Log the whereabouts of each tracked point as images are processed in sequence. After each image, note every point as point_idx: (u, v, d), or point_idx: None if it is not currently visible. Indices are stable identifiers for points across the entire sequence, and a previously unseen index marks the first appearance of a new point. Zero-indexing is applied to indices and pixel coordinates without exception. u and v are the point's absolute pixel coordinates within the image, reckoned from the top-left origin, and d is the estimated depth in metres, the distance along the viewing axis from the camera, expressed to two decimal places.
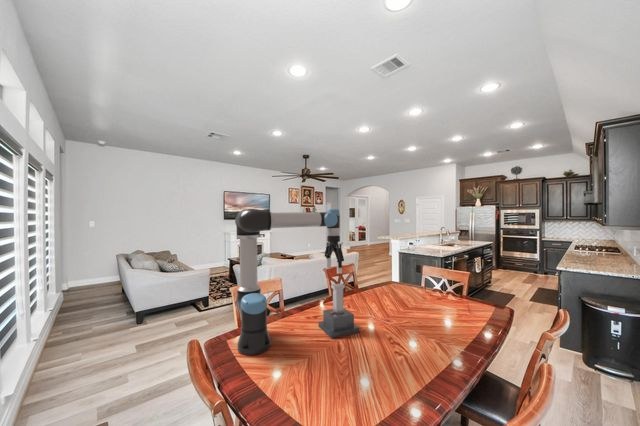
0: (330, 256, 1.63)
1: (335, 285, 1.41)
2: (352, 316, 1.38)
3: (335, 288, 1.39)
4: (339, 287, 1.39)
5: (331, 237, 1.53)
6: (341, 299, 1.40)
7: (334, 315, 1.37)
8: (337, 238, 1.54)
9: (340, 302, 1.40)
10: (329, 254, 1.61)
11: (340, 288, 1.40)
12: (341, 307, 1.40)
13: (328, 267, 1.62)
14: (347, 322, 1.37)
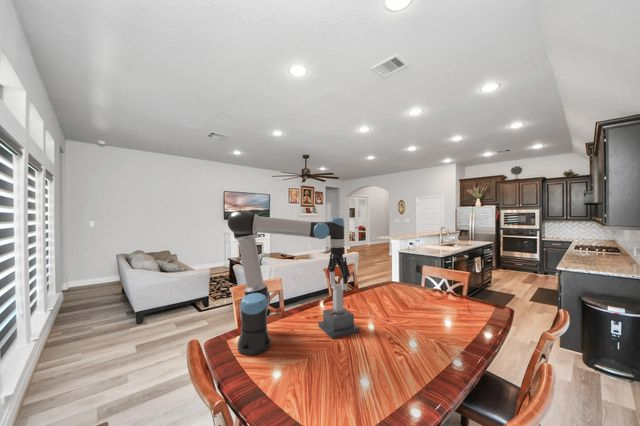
0: None
1: (335, 285, 1.41)
2: (352, 316, 1.38)
3: (335, 288, 1.39)
4: (339, 287, 1.39)
5: (335, 249, 1.38)
6: (341, 299, 1.40)
7: (334, 315, 1.37)
8: (342, 250, 1.38)
9: (340, 302, 1.40)
10: (333, 267, 1.46)
11: (340, 288, 1.40)
12: (341, 307, 1.40)
13: (332, 282, 1.47)
14: (347, 322, 1.37)
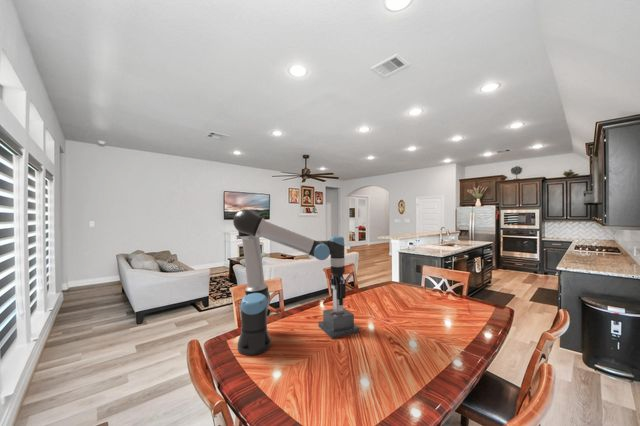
0: None
1: (335, 285, 1.41)
2: (352, 316, 1.38)
3: (335, 288, 1.39)
4: None
5: (335, 268, 1.38)
6: None
7: (334, 315, 1.37)
8: (342, 270, 1.38)
9: None
10: None
11: None
12: None
13: None
14: (347, 322, 1.37)
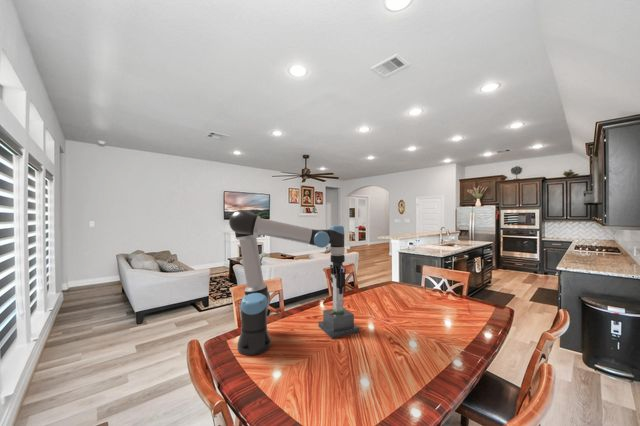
0: None
1: (335, 274, 1.41)
2: (352, 316, 1.38)
3: (335, 277, 1.39)
4: None
5: (335, 257, 1.38)
6: None
7: (334, 315, 1.37)
8: (342, 258, 1.38)
9: None
10: None
11: None
12: None
13: None
14: (347, 322, 1.37)
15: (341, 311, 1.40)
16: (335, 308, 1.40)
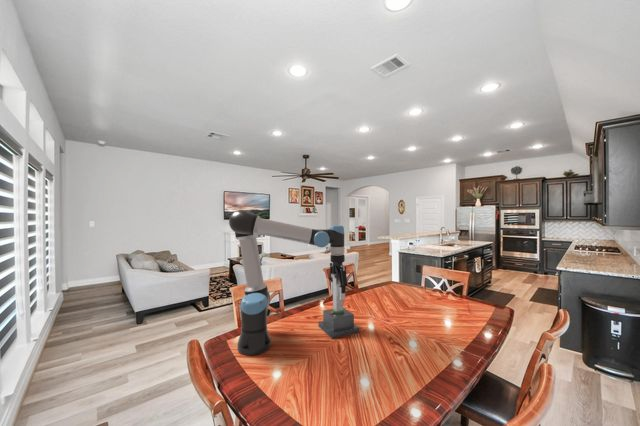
0: None
1: (335, 274, 1.41)
2: (352, 316, 1.38)
3: (335, 277, 1.39)
4: None
5: (335, 257, 1.38)
6: None
7: (334, 315, 1.37)
8: (341, 258, 1.38)
9: None
10: None
11: None
12: None
13: None
14: (347, 322, 1.37)
15: (341, 311, 1.40)
16: (335, 308, 1.40)
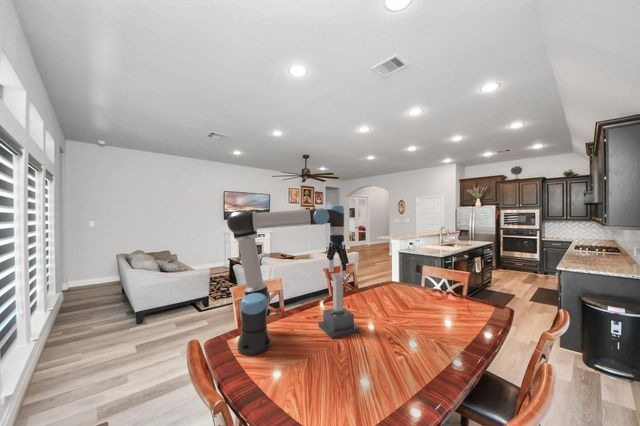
0: (333, 258, 1.48)
1: (335, 274, 1.41)
2: (352, 316, 1.38)
3: (335, 277, 1.39)
4: (339, 276, 1.40)
5: (334, 237, 1.38)
6: (341, 288, 1.40)
7: (334, 315, 1.37)
8: (341, 238, 1.38)
9: (340, 291, 1.40)
10: (332, 255, 1.46)
11: (340, 277, 1.40)
12: (341, 296, 1.40)
13: (330, 270, 1.47)
14: (347, 322, 1.37)
15: (341, 311, 1.40)
16: (335, 308, 1.40)
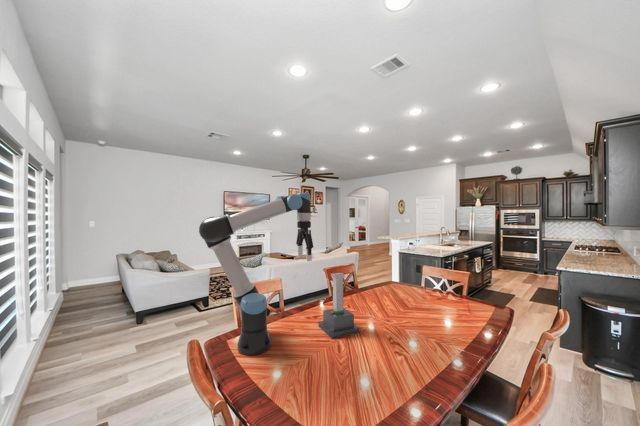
0: (302, 244, 1.54)
1: (335, 274, 1.41)
2: (352, 316, 1.38)
3: (335, 277, 1.39)
4: (339, 276, 1.40)
5: (301, 223, 1.44)
6: (341, 288, 1.40)
7: (334, 315, 1.37)
8: (307, 224, 1.44)
9: (340, 291, 1.40)
10: (300, 241, 1.52)
11: (340, 277, 1.40)
12: (341, 296, 1.40)
13: (299, 255, 1.53)
14: (347, 322, 1.37)
15: (341, 311, 1.40)
16: (335, 308, 1.40)
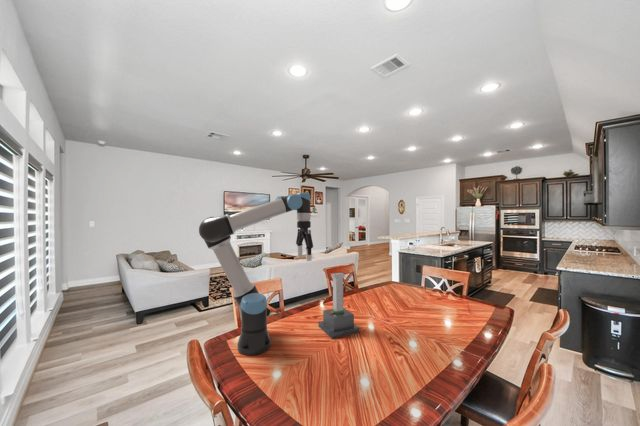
0: (301, 244, 1.54)
1: (335, 274, 1.41)
2: (352, 316, 1.38)
3: (335, 277, 1.39)
4: (339, 276, 1.40)
5: (301, 222, 1.44)
6: (341, 288, 1.40)
7: (334, 315, 1.37)
8: (307, 224, 1.45)
9: (340, 291, 1.40)
10: (300, 241, 1.52)
11: (340, 277, 1.40)
12: (341, 296, 1.40)
13: (299, 255, 1.53)
14: (347, 322, 1.37)
15: (341, 311, 1.40)
16: (335, 308, 1.40)
